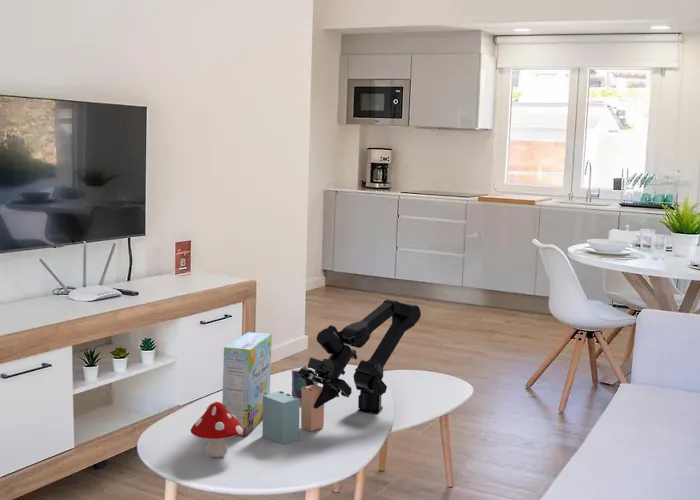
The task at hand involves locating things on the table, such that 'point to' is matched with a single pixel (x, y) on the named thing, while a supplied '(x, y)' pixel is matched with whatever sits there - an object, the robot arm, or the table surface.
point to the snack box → (247, 378)
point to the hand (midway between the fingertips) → (309, 405)
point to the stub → (311, 408)
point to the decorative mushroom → (217, 428)
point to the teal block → (281, 417)
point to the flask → (297, 383)
